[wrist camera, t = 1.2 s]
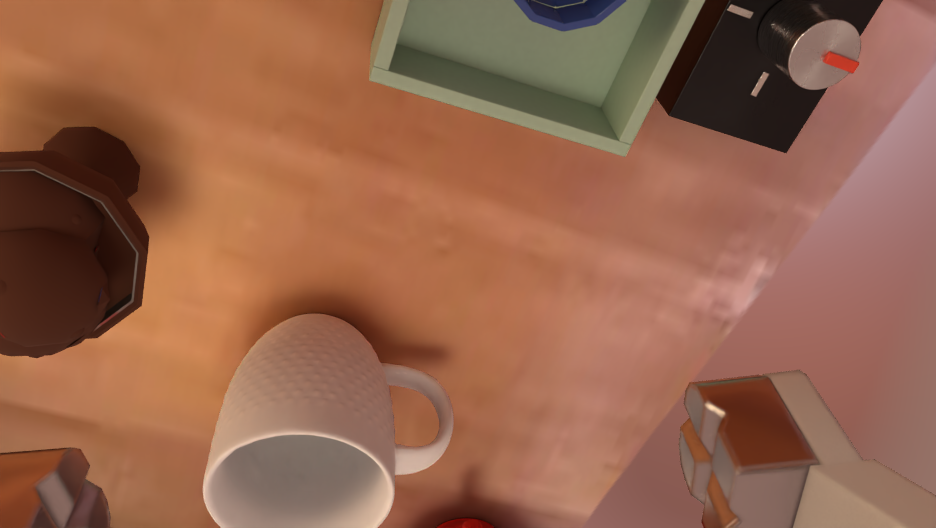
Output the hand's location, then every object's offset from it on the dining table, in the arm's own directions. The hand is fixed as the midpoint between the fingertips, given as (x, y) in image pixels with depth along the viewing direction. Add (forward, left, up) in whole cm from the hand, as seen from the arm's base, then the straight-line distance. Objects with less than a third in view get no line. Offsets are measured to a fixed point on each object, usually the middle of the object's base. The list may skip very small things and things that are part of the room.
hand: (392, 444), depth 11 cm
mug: (+29, +4, -36) cm, 46 cm away
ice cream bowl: (+19, -13, -36) cm, 43 cm away
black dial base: (-2, +22, -36) cm, 42 cm away
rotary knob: (-2, +22, -32) cm, 39 cm away
